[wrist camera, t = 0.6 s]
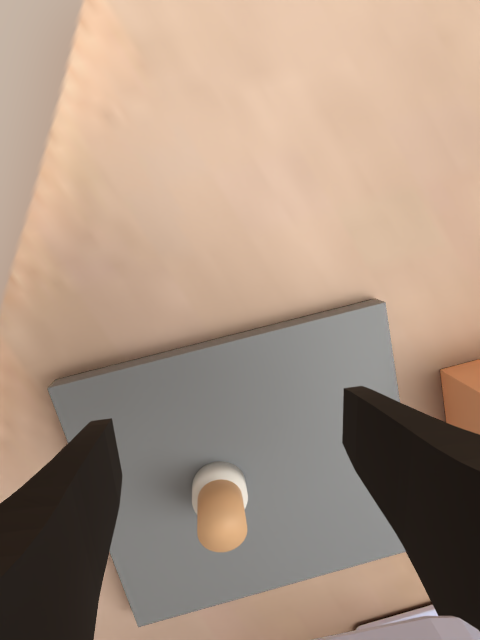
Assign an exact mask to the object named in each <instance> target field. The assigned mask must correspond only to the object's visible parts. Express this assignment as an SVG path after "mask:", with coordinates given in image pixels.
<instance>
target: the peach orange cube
mask: <svg viewBox="0 0 480 640" xmlns="http://www.w3.org/2000/svg"><path fill="white" fill-rule="evenodd" d="M440 374H441V382H442V391H443V399H444V408H445V417H446V423H448V424H451V425H453V426H456V427H459V428H462V429H464V430H467V431H470V432H473V433H476V434H480V359H478V360H474V361H471V362H467V363H463V364H459V365H455V366H452V367H448V368H444V369H440Z"/></svg>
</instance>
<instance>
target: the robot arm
mask: <svg viewBox="0 0 480 640" xmlns="http://www.w3.org/2000/svg"><path fill="white" fill-rule="evenodd" d="M342 443H343V446H344V448H345V450H346V452H347V455H348V457H349V459H350V461H351V463H352V465H353V467H354V469H355V471H356V473H357V474H358V476H359V477H360V479H361V481H362V482H363V484H364V485H365V487H366V488H367V490H368V492H369V493H370V495H371V496H372V498H373V499H374V501H375V502H376V504H377V505H378V507H379V508H380V510H381V511H382V513H383V515H384V516H385V518H386V519H387V521H388V522H389V524H390V525H391V527H392V528H393V530H394V531H395V533H396V535H397V536H398V538H399V540H400V542H401V543H402V545H403V547H404V549H405V551H406V553H407V554H408V556H409V558H410V560H411V562H412V564H413V566H414V568H415V570H416V572H417V574H418V576H419V578H420V580H421V582H422V584H423V586H424V588H425V590H426V592H427V594H428V596H429V598H430V600H431V602H432V604H433V605H429V606H426V607H422V608H419V609H416V610H412V611H409V612H405V613H402V614H398V615H395V616H391V617H388V618H384V619H381V620H378V621H374V622H371V623H367V624H364V625H360V626H358V627H357V628H356V630H355V631H350V632H346V633H341V634H336V635H331V636H326V637H322V638H317V639H312V640H480V434H476V433H473V432H470V431H467V430H464V429H462V428H459V427H456V426H453V425H451V424H448V423H446V422H443V421H441V420H438V419H436V418H433V417H431V416H429V415H426V414H424V413H422V412H419V411H417V410H415V409H413V408H411V407H408V406H406V405H404V404H402V403H400V402H398V401H396V400H394V399H391V398H389V397H387V396H385V395H383V394H381V393H378V392H376V391H374V390H372V389H369V388H367V387H364V386H357V387H349V388H344V396H343V434H342ZM122 476H123V475H122V470H121V464H120V459H119V453H118V448H117V443H116V437H115V432H114V426H113V421H112V418H110V419H102V420H95V421H90V422H89V423H88V424H87V425H86V426H85V427H84V428H83V429H82V430H81V431H80V432H79V433H78V434H77V435H76V436H75V437H74V438H73V439H72V440H71V441H70V442H69V443H68V444H67V445H66V446H65V447H64V448H63V449H62V450H61V451H60V452H59V453H58V454H57V455H56V456H55V457H54V458H53V459H52V460H51V461H50V462H49V463H48V464H47V465H45V466H44V467H43V468H42V469H41V470H40V471H39V472H38V473H37V474H35V475H34V476H33V477H32V478H31V479H30V480H29V481H28V482H27V483H25V484H24V485H23V486H22V487H21V488H19V489H18V490H17V491H16V492H15V493H13V494H12V495H11V496H10V497H8V498H7V499H6V500H4V501H3V502H2V503H0V640H93V639H94V631H95V624H96V616H97V609H98V601H99V596H100V591H101V585H102V581H103V576H104V572H105V568H106V564H107V559H108V555H109V551H110V546H111V542H112V538H113V534H114V529H115V525H116V520H117V516H118V511H119V507H120V497H121V487H122Z"/></svg>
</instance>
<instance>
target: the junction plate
mask: <svg viewBox="0 0 480 640" xmlns="http://www.w3.org/2000/svg"><path fill="white" fill-rule="evenodd" d="M357 386H364V387H367V388H369V389H372V390H374V391H376V392H378V393H381V394H383V395H385V396H387V397H389V398H391V399H394V400H396V401H398V402H400V399H399V392H398V385H397V379H396V372H395V365H394V358H393V351H392V344H391V338H390V331H389V324H388V317H387V310H386V303H385V302H383V301H381V300H378V299H372V300H368V301H364V302H360V303H356V304H352V305H348V306H344V307H340V308H336V309H332V310H328V311H324V312H320V313H317V314H313V315H309V316H305V317H301V318H297V319H293V320H289V321H285V322H281V323H277V324H273V325H269V326H265V327H261V328H257V329H253V330H249V331H246V332H242V333H238V334H234V335H230V336H226V337H222V338H218V339H214V340H210V341H206V342H202V343H198V344H194V345H190V346H186V347H182V348H179V349H175V350H171V351H167V352H163V353H159V354H155V355H151V356H147V357H143V358H139V359H135V360H131V361H127V362H123V363H119V364H115V365H112V366H108V367H104V368H100V369H96V370H92V371H88V372H84V373H80V374H76V375H72V376H68V377H64V378H60V379H56V380H55V381H54V382H53V383H52V384H51V385H50V386H49V387H48V388H47V389H48V392H49V394H50V397H51V400H52V402H53V405H54V407H55V410H56V413H57V415H58V418H59V421H60V423H61V426H62V428H63V431H64V434H65V436H66V439H67V442H68V443H69V442H70V441H71V440H72V439H73V438H74V437H75V436H76V435H77V434H78V433H79V432H80V431H81V430H82V429H83V428H84V427H85V426H86V425H87V424H88V423H89V422H90V421H95V420H102V419H110V418H112V421H113V426H114V432H115V437H116V443H117V448H118V453H119V459H120V464H121V470H122V475H123V476H122V487H121V497H120V507H119V511H118V516H117V520H116V525H115V529H114V534H113V538H112V542H111V546H110V551H109V552H110V554H111V557H112V559H113V562H114V565H115V567H116V570H117V573H118V575H119V578H120V580H121V583H122V586H123V588H124V591H125V593H126V596H127V599H128V601H129V604H130V607H131V609H132V612H133V614H134V617H135V620H136V622H137V625H138V627H141V626H145V625H148V624H152V623H155V622H159V621H162V620H166V619H169V618H173V617H176V616H180V615H183V614H187V613H191V612H194V611H198V610H201V609H205V608H208V607H212V606H215V605H219V604H222V603H226V602H229V601H233V600H236V599H240V598H244V597H247V596H251V595H254V594H258V593H261V592H265V591H268V590H272V589H275V588H279V587H282V586H286V585H290V584H293V583H297V582H300V581H304V580H307V579H311V578H314V577H318V576H321V575H325V574H328V573H332V572H336V571H339V570H343V569H346V568H350V567H353V566H357V565H360V564H364V563H367V562H371V561H374V560H378V559H381V558H385V557H389V556H392V555H396V554H399V553H403V552H406V551H405V549H404V547H403V545H402V543H401V542H400V540H399V538H398V536H397V535H396V533H395V531H394V530H393V528H392V527H391V525H390V524H389V522H388V521H387V519H386V518H385V516H384V515H383V513H382V511H381V510H380V508H379V507H378V505H377V504H376V502H375V501H374V499H373V498H372V496H371V495H370V493H369V492H368V490H367V488H366V487H365V485H364V484H363V482H362V481H361V479H360V477H359V476H358V474H357V473H356V471H355V469H354V467H353V465H352V463H351V461H350V459H349V457H348V455H347V452H346V450H345V448H344V446H343V443H342V434H343V396H344V388H349V387H357Z"/></svg>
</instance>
